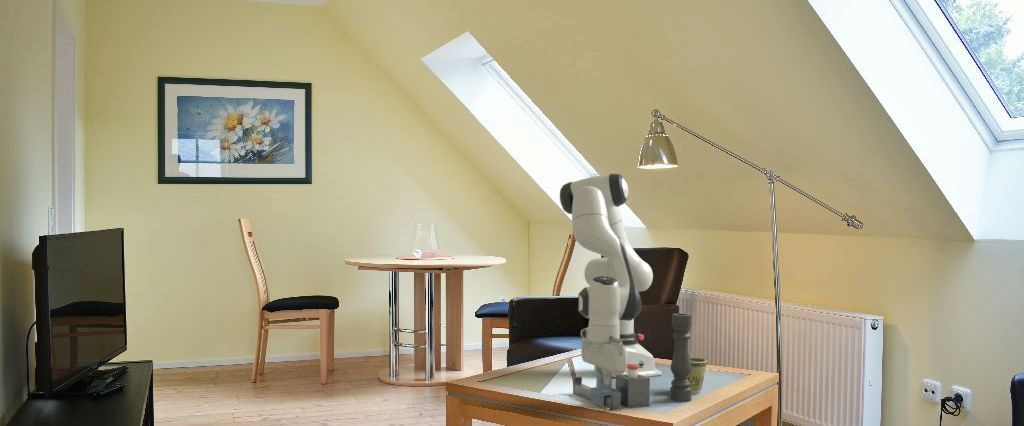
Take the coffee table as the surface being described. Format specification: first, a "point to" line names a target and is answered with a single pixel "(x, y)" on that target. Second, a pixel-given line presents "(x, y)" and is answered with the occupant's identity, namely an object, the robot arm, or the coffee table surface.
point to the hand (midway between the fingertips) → (603, 383)
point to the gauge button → (632, 370)
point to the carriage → (601, 389)
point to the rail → (583, 391)
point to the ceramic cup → (697, 374)
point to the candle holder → (681, 358)
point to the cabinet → (633, 390)
